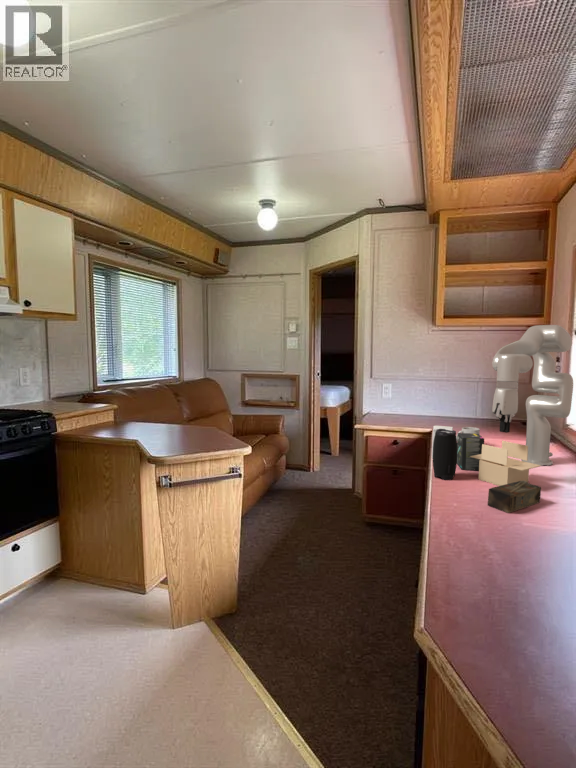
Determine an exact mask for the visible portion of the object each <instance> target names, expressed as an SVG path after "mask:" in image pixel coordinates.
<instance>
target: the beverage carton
mask: <svg viewBox="0 0 576 768" xmlns="http://www.w3.org/2000/svg"><path fill="white" fill-rule="evenodd" d="M541 492H542V487H541V486H539V485H536V484H532V483H529V482H528V483H527V482H526V481H518V482H513V483H509V484H505V485H501V486H498V485H496V486H494V487H491V488H488V495H487V506H489V507H491V508H493V509H496V510H499V511H502V512H504V513H506V514H509V513H513V512H516V511H518V510H522V509H525V508H528V507H531V506H533V505H536V504H539V503H540V502H541V501H540V500H541V495H542V494H541Z"/></svg>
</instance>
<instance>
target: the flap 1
mask: <svg viewBox="0 0 576 768" xmlns="http://www.w3.org/2000/svg"><path fill="white" fill-rule="evenodd" d="M507 458H509V456H508V450H507V449H502V447H498V446H492V445H488V444H485V443H484V444H482V455H481V459H484V460H487V461H491V462H495V463H499V464H503V465H507Z"/></svg>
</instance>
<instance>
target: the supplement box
mask: <svg viewBox="0 0 576 768" xmlns="http://www.w3.org/2000/svg"><path fill="white" fill-rule="evenodd" d="M453 428H454V427H453V426H444V425H433V429H432V442H431V443H432V445H431V459H432V460H433V442H434V437H435V432H436V430H437V429H446V430H450V431H453V430H454V429H453Z"/></svg>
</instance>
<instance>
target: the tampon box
mask: <svg viewBox="0 0 576 768" xmlns="http://www.w3.org/2000/svg"><path fill="white" fill-rule="evenodd" d="M457 433H458V432H457ZM456 436H457V435H456ZM482 444H484V445H485V438H484V437H483V436H482V435H479V434H471V433H462V432H461V433H458V436H457V465H456V466H458V467H459V469H460V470H461V471H474V472H475V471H476V472H479V460H480V459H476V458H472V457H470V456H474V455H479V454H482ZM482 460H483V459H482Z"/></svg>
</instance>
